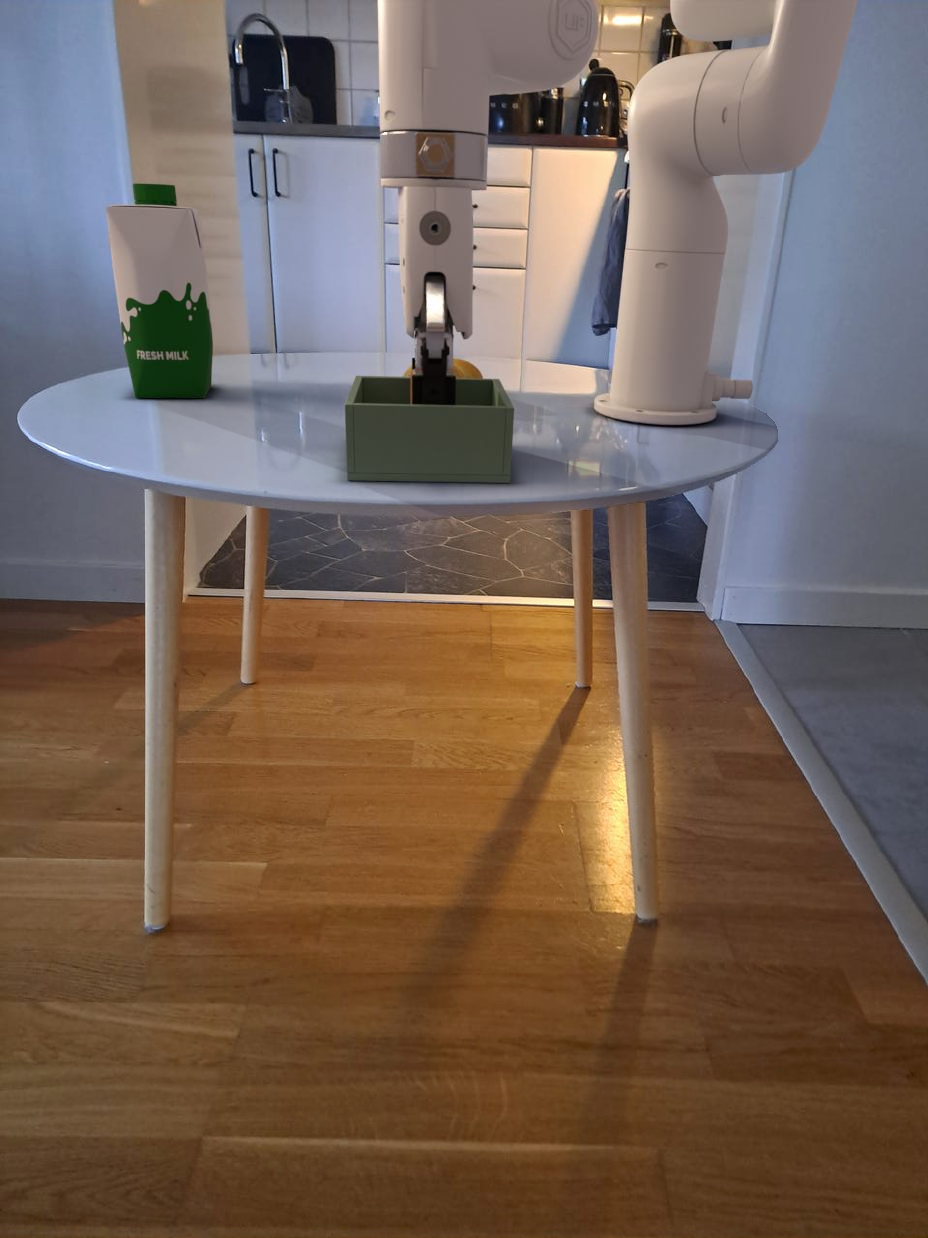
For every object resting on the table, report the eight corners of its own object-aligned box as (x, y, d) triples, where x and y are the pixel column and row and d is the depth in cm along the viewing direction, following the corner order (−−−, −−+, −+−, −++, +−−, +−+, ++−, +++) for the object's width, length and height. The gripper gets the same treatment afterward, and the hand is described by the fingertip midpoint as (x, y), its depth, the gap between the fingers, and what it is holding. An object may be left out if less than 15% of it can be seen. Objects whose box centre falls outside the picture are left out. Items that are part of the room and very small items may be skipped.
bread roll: (496, 395, 94) (498, 358, 93) (440, 404, 88) (441, 365, 87) (444, 384, 99) (445, 349, 98) (388, 392, 94) (388, 355, 92)
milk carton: (220, 384, 95) (202, 186, 86) (212, 400, 87) (191, 183, 78) (139, 384, 93) (112, 183, 85) (123, 400, 85) (92, 179, 77)
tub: (496, 443, 74) (499, 378, 71) (510, 483, 63) (514, 407, 60) (357, 441, 73) (355, 375, 71) (346, 480, 62) (344, 404, 60)
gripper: (498, 160, 51) (488, 446, 59) (478, 172, 67) (472, 397, 75) (375, 157, 51) (381, 445, 58) (384, 169, 66) (387, 396, 74)
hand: (432, 416), depth 66 cm, fingers open, 7 cm apart
